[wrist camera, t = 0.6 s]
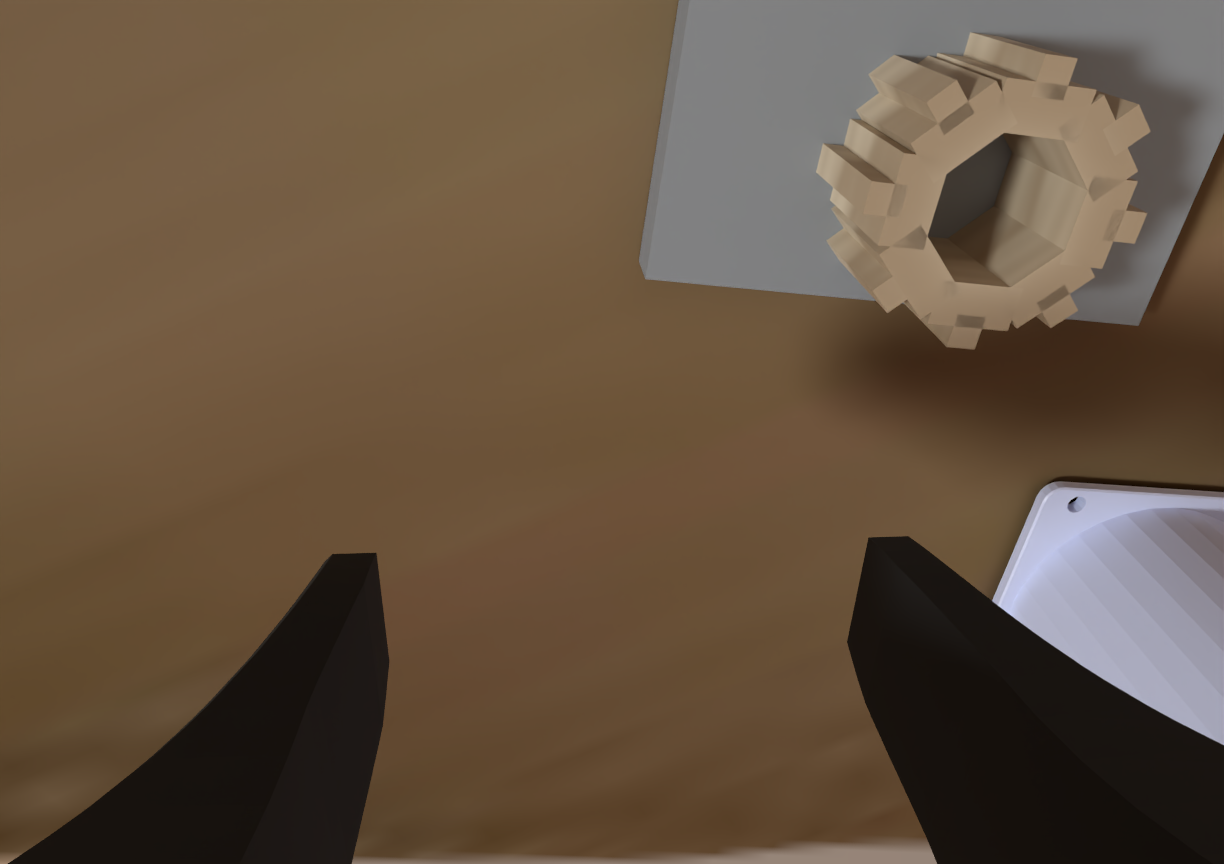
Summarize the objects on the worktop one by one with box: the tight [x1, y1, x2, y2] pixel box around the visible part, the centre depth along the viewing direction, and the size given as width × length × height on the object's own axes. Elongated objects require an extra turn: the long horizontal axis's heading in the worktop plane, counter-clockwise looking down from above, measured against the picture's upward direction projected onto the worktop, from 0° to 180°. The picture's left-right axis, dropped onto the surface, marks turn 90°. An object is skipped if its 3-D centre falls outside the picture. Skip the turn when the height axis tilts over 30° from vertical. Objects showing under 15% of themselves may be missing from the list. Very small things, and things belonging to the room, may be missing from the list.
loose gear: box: [816, 32, 1151, 349], centre depth 18 cm, size 6×6×3 cm
